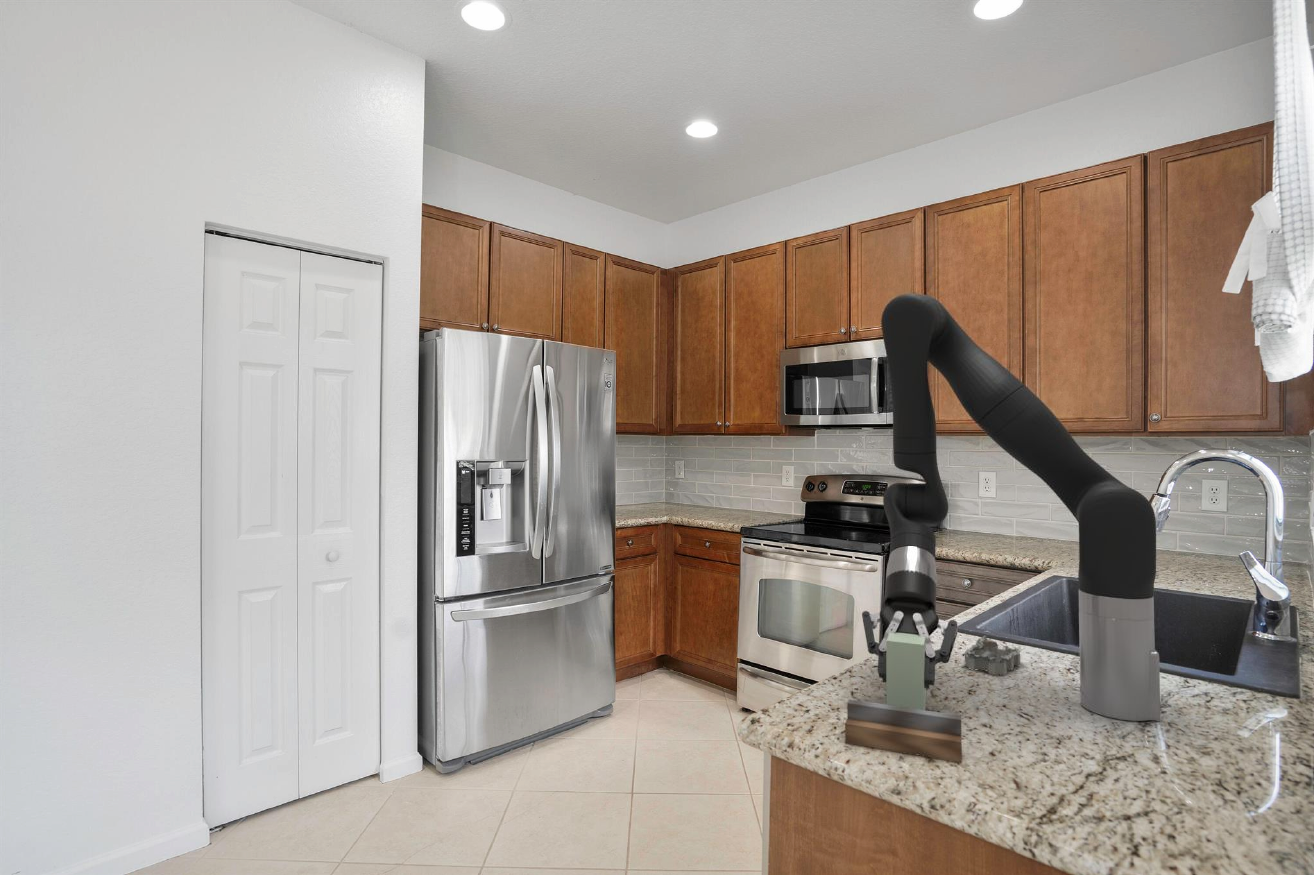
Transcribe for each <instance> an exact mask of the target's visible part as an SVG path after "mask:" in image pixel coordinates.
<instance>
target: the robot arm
mask: <svg viewBox="0 0 1314 875" xmlns="http://www.w3.org/2000/svg"><path fill="white" fill-rule="evenodd" d="M880 322H881V323H880V326H881V332H882V338H883V344H884V349H885V354H886V359H887V364H888V372H889V380H890V388H891V389H890V391H891V403H892V405H891V406H892V436H893V437H892V449H893V450H892V452H893V454H892V455H893V456H892V457H893V458H892V459H893V464H894V467H895V468H897V469H898V470H902V471H906V472H910V473H915V474H917V475H919V476H920V477H922V479H923V480H924V482H925V483H921V482H920V483H919V482H918V483H917V482H915V483H914V482H896V483H895V482H894V483H891V484H890V485H889V486H888V487H887V488H886V489H885V491H884V493H883V496H882V502H883V509H884V512H885V515H886V519H887V521H888V525H889V530H890V531H889V532H890V547H889V557H888V562H887V564H886V565H887V567H886V574H885V589H884V597H883V598H884V600H883V607H882V609H881V610H880V611H879V613H871V612H870V611H868V610H864V611H862V613H861V617H862V622H863V629H864V633H865V635H864V636H865V640H866V645H867V646H866V648H867V651H868V653H869V654H870V655H876V656H877V657H878V659H877V675H878V678H880V679H881V681H882V683H886V640H887V638H888V635H889V633H892V634H895V633H896V632H897V633H906V634H915V635H919V636H920V637H925V653H926V655H925V666H924V688H926V689H928V690H930V686H934V685H935V682H936V680H935V679H936V665H937V664H939V663H942V664H948V663H949V662H950V659H951V655H952V652H953V649H954V646H955V642H956V639H957V635H958V621H957V620H955V619H950V620H949V621H946V620H943V619H940V618H939V616H938V614H937V586H938V580H937V577H938V576H937V566H936V542H937V539H936V534H935V532H934V531H933V529H932V528H931V527H929V526H928V525H939V524H941V523H942V522H943V521H945V519H946V517H947V515H948V513H949V501H948V498H947V495H946V492H945V489H944V485H943V483H942V479H941V476H940V471H939V467H938V458H937V457H938V454H937V423H936V422H937V421H936V414H935V409H934V405H933V404H934V403H933V398H932V396H931V390H930V384H929V373H928V372H929V369H928V364H930V365H931V366H933V368H935V369H936V370H937V371H938V372H939V373H940V374H941V375H942V377H944V378H945V380H946V381H947V383H948V384H949V386H950V388H951V389H952V391H953V393H954V394H955V397H956V398H957V400H958V401H959V403H960V404H961V406H962V408H964V411H966V413H967V414H968V415H969V417H970V418H971V419H972V420H973V421H974V422H975V424H977V426H978V427H979V428H981V429H982V431H984V433H985V434H986V435H988V437H989V438H991V439H992V441H993V442H995V443H996V445H998V446H999V447H1000V448H1001V449H1003V451H1005V452H1006V453H1007V454H1008V455H1009V456H1011V457H1012V458H1013V459H1015V460H1016V461H1017V462H1019V463H1020V464H1021V465H1023V466H1024V467H1025V468H1027V470H1029V471H1031V472H1032V473H1033V474H1034V475H1035V476H1038V478H1040V480H1042V481H1043V482H1044V483H1045V484H1046V485H1047V486H1048V487H1049V489H1051V490H1052V492H1054V494H1055V495H1056V497H1058V498H1059V500H1060V501H1061V502H1062V503H1063V505H1064V506H1065V507H1066V508H1067V510H1068V511H1069V512H1070V513H1071V514H1072V516H1073V517H1074V518H1075V519H1076V521H1077V522H1078V554H1079V555H1078V561H1079V562H1078V571H1077V572H1078V624H1079V625H1078V626H1079V628H1078V634H1079V635H1078V636H1079V641H1078V642H1079V644H1078V645H1079V693H1080V695H1079V699H1080V705H1081V706H1082V707H1084V708H1085V709H1087V710H1088V711H1090V712H1092V713H1094V714H1099V715H1101V716H1105V717H1108V718H1113V719H1118V720H1124V721H1135V722H1143V721H1144V722H1145V721H1157V722H1159V721H1161V689H1160V688H1161V686H1160V685H1161V684H1160V682H1161V681H1160V680H1161V679H1160V677H1161V676H1160V675H1161V674H1160V654H1159V652H1158V651H1157V650H1156V648H1155V646H1156V643H1155V641H1156V640H1155V639H1156V638H1155V604H1154V602H1155V601H1154V600H1155V599H1154V596H1155V590H1154V588H1155V582H1156V576H1157V524H1156V523H1157V522H1156V521H1157V520H1156V513H1155V510H1154V508H1153V505H1152V504H1151V502H1150V501H1149V500H1148V499H1147V497H1146V496H1144V495H1143V494H1142V493H1141V492H1139V491H1138V490H1136V489H1133V488H1132V487H1130V486H1128V485H1126V484H1124V483H1123V482H1121V480H1119V479H1118V478H1116V477H1115V476H1114V475H1112V473H1110V472H1109V471H1107V470H1106V469H1105V468H1104V467H1102V466H1101V465H1100V464H1099V463H1098V462H1096V461H1095V460H1094V459H1093V458H1092V457H1091V456H1089V455H1088V454H1087V453H1086V452H1085V451H1084V450H1083V449H1082V447H1081V446H1080V445H1079V444H1078V443H1077V441H1076V440H1075V439H1074V438H1073V436H1072V434H1070V432H1069V431H1068V430H1067V428H1066V427H1065V426H1064V425H1063V423H1062V422H1061V421H1060V420H1059V418H1058V417H1057V416H1056V415H1055V414H1054V412H1052V410H1051V409H1050V408H1049V407H1048V405H1046V404H1045V402H1043V401H1042V400H1041V399H1040V398H1039V397H1038V395H1036V394H1035V393H1034V392H1033V391H1032V390H1031V389H1030V387H1028V386H1026V385H1025V383H1023V382H1022V381H1021V380H1020V379H1019V378H1017V376H1015V375H1014V374H1013V373H1012V372H1011V371H1010V370H1008V369H1007V368H1006V367H1005V366H1003V364H1001V363H1000V362H999V361H997V360H996V359H995V358H994V357H993V356H992V355H990V354H989V353H987V352H986V351H985V350H984V349H983V348H981V347H980V346H979V345H978V344H977V343H976V342H975V341H974V340H973V339H972V338H971V337H970V336H969V335H968V333H967V332H966V331H965V330H964V329H963V328H962V327H961V326H960V324H959V323H958V322H957V321H956V320H955V318H954V317H953V316H952V314H951V313H950V312H949V311H948V309H946V307H945V306H944V304H942V303H941V302H940V301H939V300H938V299H936V298H934V297H932V296H930V295H926V294H922V293H921V294H919V293H912V292H911V293H910V292H909V293H903V294H900V295H897V296H895V297H894V298H892V299H891V300H890V301H889V302H888V303H887V304H886V306H885V307H884V309H883V310H882V314H881V319H880ZM879 623H881V624H882V626H883V627H884V628H885V629H886V630H885V632H884V635H883V639H882V640H881V642H880V643H879V642H876V639H875V634H874V630H875V629H877V627H878V625H879ZM937 629H939V630H940V633H941V636H942V637H943V639H942V643H941V645H940V648H939V649H936V650H935V649H934V646H933V644H932V642H931V638H930V636H931V635H932V634H934V632H935V631H936V630H937Z"/></svg>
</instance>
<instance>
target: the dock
mask: <svg viewBox="0 0 1314 875" xmlns="http://www.w3.org/2000/svg"><path fill="white" fill-rule="evenodd" d="M846 704H847V705H846V706H847V708H846V709H847V712H846V713H847V714H846V715H847V716H846V717H847V718H846V720H845V724H844V734H845V736H844V741H845V742H844V743H845V744H851V745H857V746H861V747H868V748H874V749H880V750H885V751H893V752H896V753H902V752H906V753H905V754H908V753H911V754H910V755H914V754H919V755H918V756H920V755H924V756H923V757H925V756H930V757H929V758H931V757H933V758H934V759H937V758H938V760H944V761H948V762H949V761H951V762H955V761H956V763H963V751H962V748H963V745H962V740H963V738H962V734H963V733H962V715H959V714H953V713H945V712H939V711H933V710H926V709H925V710H919V709H912V708H905V707H898V706H892V705H886V703H885V704H883V703H877V702H870V701H863V700H856V699H850V698H849V699H848V701H847V703H846Z"/></svg>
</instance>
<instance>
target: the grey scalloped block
mask: <svg viewBox="0 0 1314 875" xmlns="http://www.w3.org/2000/svg"><path fill="white" fill-rule="evenodd" d="M965 650H966V651H965V652H963V653H962V654H961V655H962V657H964V660H965V663H964V667H965V666H968V667H969V668H970V669H973V670H972V671H974V670H975V669H982V670H981V671H983V670H987V671H988V672H987V671H986V672H987V673H989V674H988V675H991V674H994V675H993V676H997V675H996V674H1000V675H999V676H1006V675H1007V671H1010V670H1012V671H1014V670H1013V669H1014V667H1020V666H1021V665H1022V664H1021V654H1020V653H1021V652H1022V651H1023V649H1018V648H1017V647H1014V648H1010V647H1009V645H1005V647H1004V648H999V645H998V643H997V641H996V640H995V641H994V640H992V639H988V638H987V635H983V636H981V637H980V638H978V639H977V640H976V643H975V644H972V645H971V647H970V648H968V649H965ZM1014 665H1016V666H1014ZM1019 665H1020V666H1019ZM968 667H967V668H968ZM969 668H968V669H969ZM975 671H976V670H975Z"/></svg>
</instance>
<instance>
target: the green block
mask: <svg viewBox="0 0 1314 875" xmlns="http://www.w3.org/2000/svg"><path fill="white" fill-rule="evenodd" d="M925 655H926V653H925V637H920V636H919V635H915V634H906V633H897V632H896V633H895V634H892V633H889V635H888V638H887V640H886V682H885V684H886V703H885V705H892V706H898V707H905V708H912V709H919V710H926V703H927V702H926V699H927V698H926V696H927V694H926V693H927V692H926V691H927V690H926V689H927V688H924V666H925Z"/></svg>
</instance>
